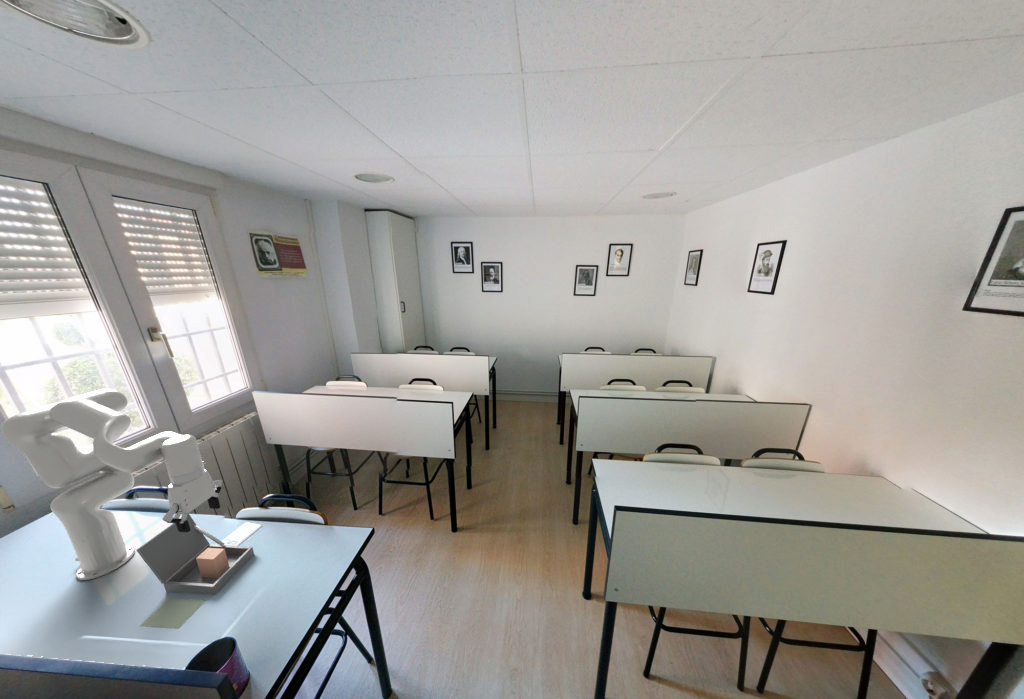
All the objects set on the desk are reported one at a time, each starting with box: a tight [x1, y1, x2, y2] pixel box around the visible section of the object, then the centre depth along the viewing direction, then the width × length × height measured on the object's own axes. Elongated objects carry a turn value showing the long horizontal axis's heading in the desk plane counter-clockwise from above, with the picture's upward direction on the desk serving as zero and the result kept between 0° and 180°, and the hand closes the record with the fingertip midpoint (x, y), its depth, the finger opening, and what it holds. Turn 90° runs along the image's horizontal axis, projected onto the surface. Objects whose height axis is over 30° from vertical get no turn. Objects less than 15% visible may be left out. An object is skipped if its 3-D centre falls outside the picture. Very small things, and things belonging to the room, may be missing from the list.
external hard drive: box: [216, 521, 264, 546], centre depth 120 cm, size 2×8×12 cm
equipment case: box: [135, 512, 255, 596], centre depth 104 cm, size 22×15×17 cm
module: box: [196, 548, 229, 578], centre depth 105 cm, size 6×4×8 cm, turn 87°
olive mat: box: [139, 597, 207, 629], centre depth 94 cm, size 12×8×1 cm, turn 88°
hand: (200, 519), depth 101 cm, fingers open, 9 cm apart
